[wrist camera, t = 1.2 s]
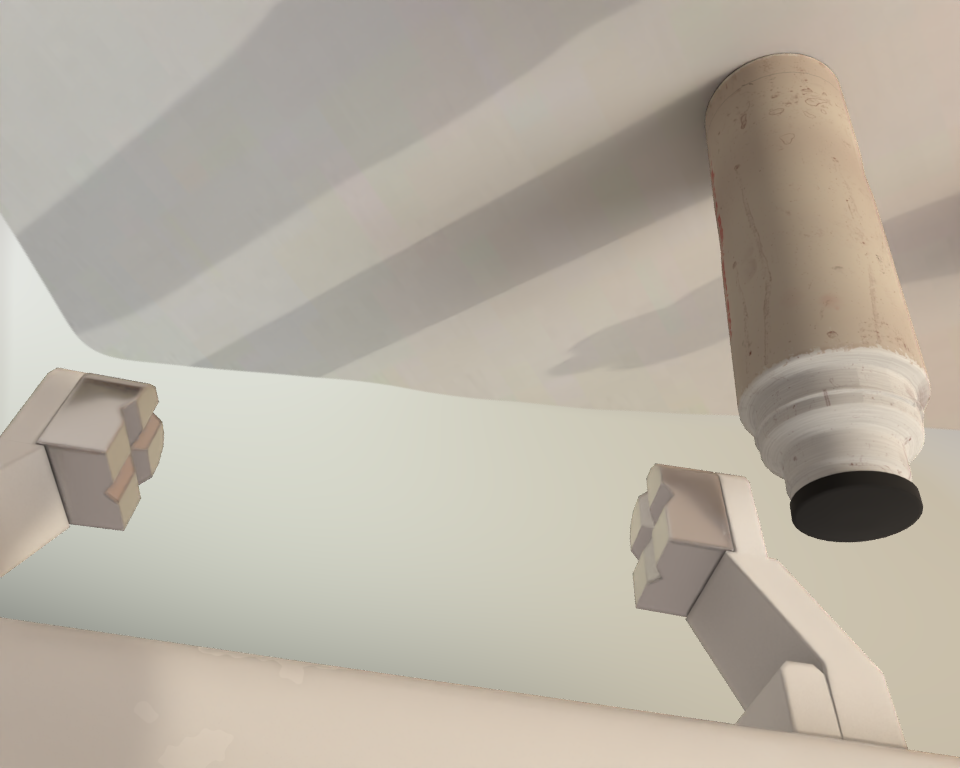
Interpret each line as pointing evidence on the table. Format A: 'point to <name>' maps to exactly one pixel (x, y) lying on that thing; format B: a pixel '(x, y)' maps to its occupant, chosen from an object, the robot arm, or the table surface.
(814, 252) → the thermos bottle
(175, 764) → the robot arm
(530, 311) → the table surface
